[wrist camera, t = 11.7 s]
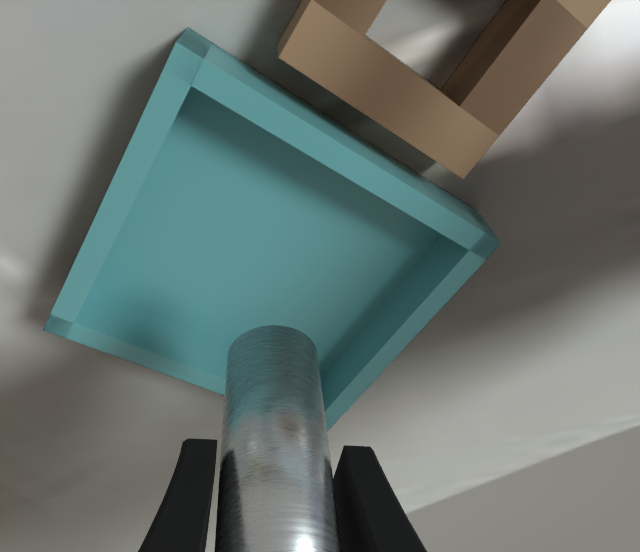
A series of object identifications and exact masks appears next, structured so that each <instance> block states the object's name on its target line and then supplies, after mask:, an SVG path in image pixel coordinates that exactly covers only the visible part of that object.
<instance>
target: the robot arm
mask: <svg viewBox="0 0 640 552" xmlns="http://www.w3.org/2000/svg"><path fill="white" fill-rule="evenodd" d="M216 451H217V440H209V439H187V440H185V441H184V442H183V444H182V448H181V452H180V456H179V459H178V462H177V465H176V468H175V471H174V474H173V476H172V479H171V482H170V484H169V486H168V489H167V491H166V494H165V496H164V499H163V501H162V503H161V505H160V508H159V510H158V512H157V514H156V516H155V518H154V520H153V522H152V525H151V527H150V529H149V531H148V533H147V535H146V537H145V539H144V541H143V543H142V545H141V547H140V549H139V551H138V552H205V547H206V540H207V532H208V523H209V515H210V507H211V499H212V491H213V483H214V475H215V463H216ZM333 484H334V492H335V500H336V508H337V516H338V524H339V532H340V540H341V548H342V552H427V551H426V549H425V547H424V546H423V544H422V542H421V541H420V539H419V537H418V535H417V534H416V532H415V530H414V528H413V527H412V525H411V523H410V522H409V520H408V518H407V516H406V514H405V512H404V511H403V509H402V507H401V505H400V503H399V501H398V499H397V497H396V495H395V494H394V492H393V490H392V488H391V486H390V484H389V482H388V480H387V478H386V476H385V474H384V472H383V470H382V468H381V466H380V464H379V462H378V459H377V457H376V455H375V453H374V451H373V450H372V448H371V447H364V446H344V447H343V450H342V454H341V457H340V460H339V463H338V466H337V469H336V472H335V475H334V478H333Z"/></svg>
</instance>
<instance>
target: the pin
mask: <svg viewBox="0 0 640 552" xmlns="http://www.w3.org/2000/svg"><path fill="white" fill-rule="evenodd" d="M215 552H342V548H341V540H340V532H339V524H338V516H337V508H336V500H335V492H334V484H333V476H332V468H331V460H330V452H329V444H328V436H327V428H326V420H325V412H324V404H323V396H322V388H321V380H320V372H319V364H318V356H317V350H316V347H315V345H314V343H313V341H312V340H311V339H310V338H309V337H308V336H307V335H305V334H304V333H303V332H301V331H299V330H296V329H294V328H291V327H287V326H279V325H269V326H262V327H257V328H254V329H251V330H249V331H247V332H245V333H243V334H242V335H240V336H239V337H238V338H237V339H236V340H235V341H234V342H233V343H232V344H231V346H230V348H229V350H228V354H227V368H226V384H225V400H224V415H223V431H222V446H221V462H220V477H219V493H218V508H217V524H216V539H215Z"/></svg>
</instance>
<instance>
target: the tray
mask: <svg viewBox="0 0 640 552" xmlns="http://www.w3.org/2000/svg"><path fill="white" fill-rule="evenodd" d="M500 244H501V242H500V240H499V239H498V238H497V237H496V235H495V234H494V233H493V231H492V230H491V229H490V227H489V226H488V225H487V224H486V222H485V221H484V220H483V218H482V217H481V216H480V215H479V213H478V212H477V211H476V210H475V209H473V208H471V207H470V206H468V205H467V204H465V203H464V202H462V201H460V200H459V199H457V198H456V197H454V196H453V195H451V194H449V193H448V192H446V191H445V190H443V189H442V188H440V187H438V186H437V185H435V184H434V183H432V182H431V181H429V180H427V179H426V178H424V177H423V176H421V175H420V174H418V173H416V172H415V171H413V170H412V169H410V168H409V167H407V166H405V165H404V164H402V163H401V162H399V161H398V160H396V159H394V158H393V157H391V156H390V155H388V154H387V153H385V152H383V151H382V150H380V149H379V148H377V147H376V146H374V145H372V144H371V143H369V142H368V141H366V140H364V139H363V138H361V137H360V136H358V135H357V134H355V133H353V132H352V131H350V130H349V129H347V128H346V127H344V126H342V125H341V124H339V123H338V122H336V121H335V120H333V119H331V118H330V117H328V116H327V115H325V114H324V113H322V112H320V111H319V110H317V109H316V108H314V107H313V106H311V105H309V104H308V103H306V102H305V101H303V100H302V99H300V98H298V97H297V96H295V95H294V94H292V93H291V92H289V91H287V90H286V89H284V88H283V87H281V86H280V85H278V84H276V83H275V82H273V81H272V80H270V79H269V78H267V77H265V76H264V75H262V74H261V73H259V72H258V71H256V70H254V69H253V68H251V67H250V66H248V65H247V64H245V63H243V62H242V61H240V60H239V59H237V58H236V57H234V56H232V55H231V54H229V53H228V52H226V51H225V50H223V49H221V48H220V47H218V46H217V45H215V44H214V43H212V42H210V41H209V40H207V39H206V38H204V37H202V36H201V35H199V34H198V33H196V32H195V31H193V30H191V29H190V28H187V29H186V30H185V31H184V32H183V34H182V35H181V36H180V37H179V39H178V40H177V41H176V43H175V45H174V47H173V49H172V51H171V54H170V56H169V58H168V60H167V62H166V64H165V67H164V69H163V71H162V73H161V75H160V77H159V80H158V82H157V84H156V86H155V88H154V90H153V93H152V95H151V97H150V99H149V101H148V103H147V106H146V108H145V110H144V112H143V114H142V116H141V119H140V121H139V123H138V125H137V127H136V129H135V132H134V134H133V136H132V138H131V140H130V142H129V145H128V147H127V149H126V151H125V153H124V155H123V158H122V160H121V162H120V164H119V166H118V168H117V171H116V173H115V175H114V177H113V179H112V181H111V184H110V186H109V188H108V190H107V192H106V194H105V197H104V199H103V201H102V203H101V205H100V207H99V210H98V212H97V214H96V216H95V218H94V220H93V223H92V225H91V227H90V229H89V231H88V233H87V236H86V238H85V240H84V242H83V244H82V246H81V249H80V251H79V253H78V255H77V257H76V259H75V262H74V264H73V266H72V268H71V270H70V272H69V275H68V277H67V279H66V281H65V283H64V285H63V288H62V290H61V292H60V294H59V296H58V298H57V301H56V303H55V305H54V307H53V309H52V311H51V314H50V316H49V318H48V320H47V322H46V324H45V327H44V329H43V330H44V331H47V332H50V333H52V334H55V335H58V336H61V337H63V338H66V339H69V340H72V341H75V342H77V343H80V344H83V345H86V346H89V347H91V348H94V349H97V350H100V351H102V352H105V353H108V354H111V355H114V356H116V357H119V358H122V359H125V360H128V361H130V362H133V363H136V364H139V365H141V366H144V367H147V368H150V369H153V370H155V371H158V372H161V373H164V374H166V375H169V376H172V377H175V378H178V379H180V380H183V381H186V382H189V383H192V384H194V385H197V386H200V387H203V388H205V389H208V390H211V391H214V392H217V393H219V394H222V395H225V384H226V368H227V354H228V350H229V348H230V346H231V344H232V343H233V342H234V341H235V340H236V339H237V338H238V337H239V336H240V335H242V334H243V333H245V332H247V331H249V330H251V329H254V328H257V327H262V326H269V325H279V326H287V327H291V328H294V329H296V330H299V331H301V332H303V333H304V334H305V335H307V336H308V337H309V338H310V339H311V340H312V341H313V343H314V345H315V347H316V350H317V356H318V364H319V372H320V380H321V388H322V396H323V404H324V412H325V420H326V428H327V431H328V430H329V429H330V428H331V427H332V426H333V425H334V424H335V423H336V421H337V420H338V419H339V418H340V417H341V416H342V415H343V414H344V413H345V412H346V411H347V410H348V409H349V407H350V406H351V405H352V404H353V403H354V402H355V401H356V400H357V399H358V398H359V397H360V396H361V394H362V393H363V392H364V391H365V390H366V389H367V388H368V387H369V386H370V385H371V384H372V383H373V382H374V380H375V379H376V378H377V377H378V376H379V375H380V374H381V373H382V372H383V371H384V370H385V369H386V367H387V366H388V365H389V364H390V363H391V362H392V361H393V360H394V359H395V358H396V357H397V356H398V354H399V353H400V352H401V351H402V350H403V349H404V348H405V347H406V346H407V345H408V344H409V343H410V342H411V340H412V339H413V338H414V337H415V336H416V335H417V334H418V333H419V332H420V331H421V330H422V329H423V327H424V326H425V325H426V324H427V323H428V322H429V321H430V320H431V319H432V318H433V317H434V316H435V315H436V313H437V312H438V311H439V310H440V309H441V308H442V307H443V306H444V305H445V304H446V303H447V302H448V300H449V299H450V298H451V297H452V296H453V295H454V294H455V293H456V292H457V291H458V290H459V289H460V288H461V286H462V285H463V284H464V283H465V282H466V281H467V280H468V279H469V278H470V277H471V276H472V275H473V273H474V272H475V271H476V270H477V269H478V268H479V267H480V266H481V265H482V264H483V263H484V262H485V261H486V259H487V258H488V257H489V256H490V255H491V254H492V253H493V252H494V251H495V250H496V249H497V248H498V246H499V245H500Z"/></svg>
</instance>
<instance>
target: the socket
mask: <svg viewBox="0 0 640 552" xmlns="http://www.w3.org/2000/svg"><path fill="white" fill-rule="evenodd" d="M610 1H611V0H506V1H505V3H504V4H503V5H502V7H501V8H500V9H499V11H498V12H497V13H496V15H495V16H494V18H493V19H492V20H491V22H490V23H489V24H488V26H487V27H486V28H485V30H484V31H483V33H482V34H481V35H480V37H479V38H478V39H477V41H476V42H475V43H474V45H473V46H472V48H471V49H470V50H469V52H468V53H467V54H466V56H465V57H464V58H463V60H462V61H461V63H460V64H459V65H458V67H457V68H456V69H455V71H454V72H453V73H452V75H451V76H450V78H449V79H448V80H447V82H446V83H445V84H444V86H443V87H442V88H441V90H440V89H438V88H437V87H436V86H434V85H433V84H431V83H430V82H429V81H427V80H426V79H425V78H423V77H422V76H421V75H419V74H418V73H416V72H415V71H414V70H412V69H411V68H410V67H408V66H407V65H405V64H404V63H403V62H401V61H400V60H399V59H397V58H396V57H395V56H393V55H392V54H390V53H389V52H388V51H386V50H385V49H384V48H382V47H381V46H379V45H378V44H377V43H375V42H374V41H373V40H371V39H370V38H369V37H367V36H366V35H365V34H366V32H367V31H368V29H369V27H370V26H371V24H372V23H373V21H374V20H375V18H376V16H377V15H378V13H379V12H380V10H381V8H382V7H383V5H384V4H385V2H386V0H302V1H301V2H300V4H299V6H298V8H297V10H296V11H295V13H294V15H293V17H292V19H291V20H290V22H289V24H288V26H287V28H286V29H285V31H284V33H283V35H282V37H281V38H280V40H279V42H278V44H277V49H278V57H279V58H280V59H281V60H283V61H284V62H286V63H287V64H289V65H290V66H292V67H293V68H295V69H297V70H298V71H300V72H301V73H303V74H304V75H306V76H307V77H309V78H310V79H312V80H313V81H315V82H316V83H318V84H319V85H321V86H322V87H324V88H325V89H327V90H328V91H330V92H331V93H333V94H334V95H336V96H338V97H339V98H341V99H342V100H344V101H345V102H347V103H348V104H350V105H351V106H353V107H354V108H356V109H357V110H359V111H360V112H362V113H363V114H365V115H366V116H368V117H369V118H371V119H372V120H374V121H375V122H377V123H378V124H380V125H382V126H383V127H385V128H386V129H388V130H389V131H391V132H392V133H394V134H395V135H397V136H398V137H400V138H401V139H403V140H404V141H406V142H407V143H409V144H410V145H412V146H413V147H415V148H416V149H418V150H419V151H421V152H423V153H424V154H426V155H427V156H429V157H430V158H432V159H433V160H435V161H436V162H438V163H439V164H441V165H442V166H444V167H445V168H447V169H448V170H450V171H451V172H453V173H454V174H456V175H457V176H459V177H460V178H462V179H464V178H465V177H466V175H467V174H468V173H469V172H470V171H471V169H472V168H473V167H474V166H475V165H476V163H477V162H478V161H479V160H480V159H481V157H482V156H483V155H484V154H485V152H486V151H487V150H488V149H489V148H490V146H491V145H492V144H493V143H494V142H495V140H496V139H497V138H498V137H499V135H500V134H501V133H502V132H503V131H504V129H505V128H506V127H507V126H508V125H509V123H510V122H511V121H512V120H513V119H514V117H515V116H516V115H517V114H518V112H519V111H520V110H521V109H522V108H523V106H524V105H525V104H526V103H527V102H528V100H529V99H530V98H531V97H532V95H533V94H534V93H535V92H536V91H537V89H538V88H539V87H540V86H541V85H542V83H543V82H544V81H545V80H546V79H547V77H548V76H549V75H550V74H551V72H552V71H553V70H554V69H555V68H556V66H557V65H558V64H559V63H560V62H561V60H562V59H563V58H564V57H565V55H566V54H567V53H568V52H569V51H570V49H571V48H572V47H573V46H574V45H575V43H576V42H577V41H578V40H579V39H580V37H581V36H582V35H583V34H584V32H585V31H586V30H587V29H588V28H589V26H590V25H591V24H592V23H593V22H594V20H595V19H596V18H597V17H598V15H599V14H600V13H601V12H602V11H603V9H604V8H605V7H606V6H607V5H608V3H609V2H610Z"/></svg>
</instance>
